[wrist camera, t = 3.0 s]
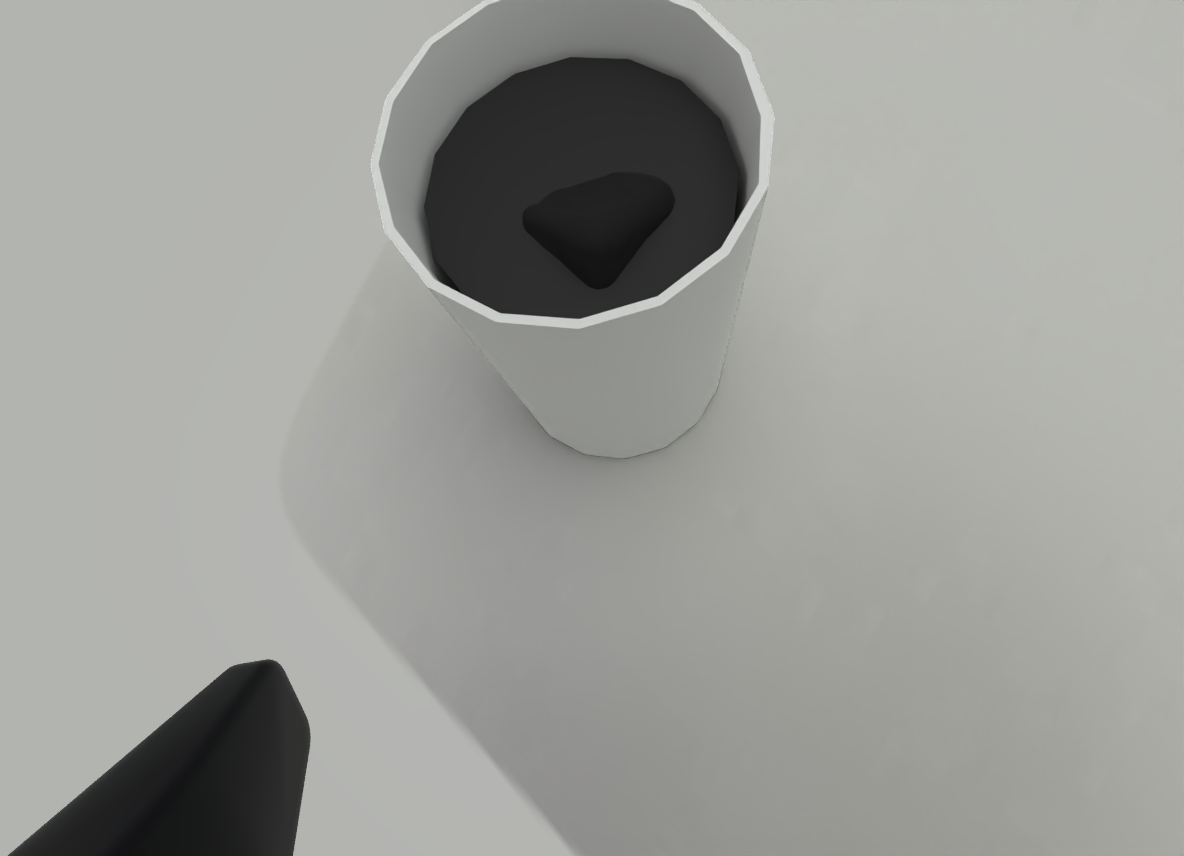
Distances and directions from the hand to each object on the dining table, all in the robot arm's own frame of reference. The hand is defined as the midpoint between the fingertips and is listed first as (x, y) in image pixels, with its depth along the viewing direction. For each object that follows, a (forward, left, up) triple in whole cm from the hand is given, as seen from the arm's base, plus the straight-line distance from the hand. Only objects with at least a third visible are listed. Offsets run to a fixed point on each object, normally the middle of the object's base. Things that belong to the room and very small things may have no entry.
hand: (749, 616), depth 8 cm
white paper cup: (+4, +7, -14) cm, 16 cm away
